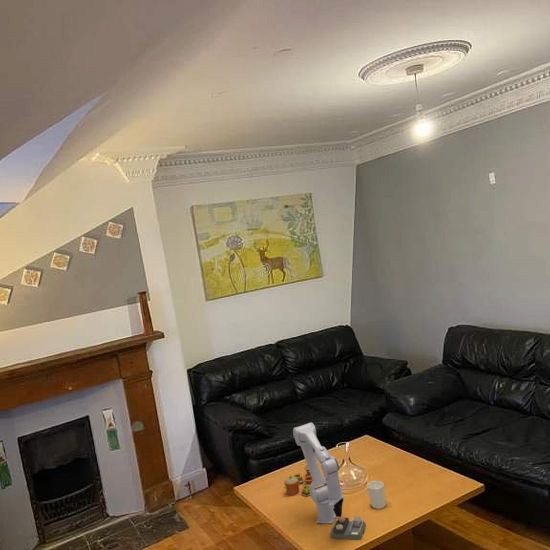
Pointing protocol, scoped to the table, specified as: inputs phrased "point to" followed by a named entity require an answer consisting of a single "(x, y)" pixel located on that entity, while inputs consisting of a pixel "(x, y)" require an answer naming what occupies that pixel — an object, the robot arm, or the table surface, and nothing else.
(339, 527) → the cream button
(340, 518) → the terracotta button
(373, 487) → the white cup
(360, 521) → the slider knob
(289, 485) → the potted succulent plants
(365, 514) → the table surface
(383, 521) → the table surface
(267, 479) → the table surface
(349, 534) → the control panel
